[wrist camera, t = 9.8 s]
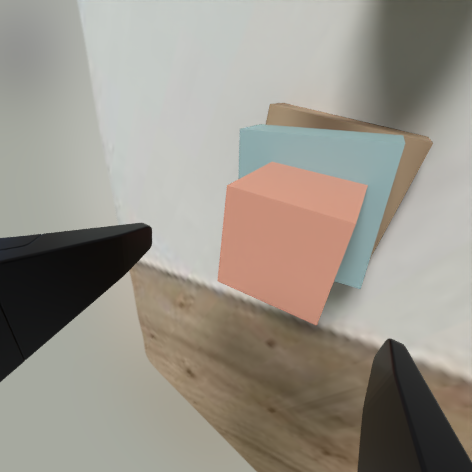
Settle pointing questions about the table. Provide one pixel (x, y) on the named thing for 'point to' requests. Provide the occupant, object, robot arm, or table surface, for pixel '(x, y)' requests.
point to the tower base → (309, 118)
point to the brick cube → (287, 236)
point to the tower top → (333, 174)
